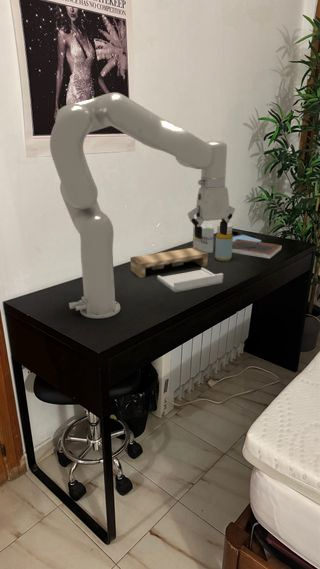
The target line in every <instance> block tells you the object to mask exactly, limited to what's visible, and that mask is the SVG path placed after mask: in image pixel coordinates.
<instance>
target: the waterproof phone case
mask: <svg viewBox="0 0 320 569" xmlns="http://www.w3.org/2000/svg"><path fill="white" fill-rule="evenodd" d="M237 239H242V240H248V241H255V242H262V240H261V239H258V238H255V237H251V236H248V235H245V234H240V235H236V236H235V235H234V236H233V241H235V240H237ZM233 241H232V242H233Z"/></svg>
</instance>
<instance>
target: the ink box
mask: <svg viewBox="0 0 320 569" xmlns="http://www.w3.org/2000/svg"><path fill="white" fill-rule="evenodd" d="M201 227H202V238H201V239H199V238H196V237H195V225H193V226H192V228H193V231H192V233H193V234H192V248H194V247H196V248H198V249H200V250H202V251H204V252H206V253H208V254H210V253H211V254H213V253H214V232H215V231H214V230H215V229H214V228H215V227H214V226H213V225H212V223H204V222H203V223H202V225H201Z"/></svg>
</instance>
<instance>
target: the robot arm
mask: <svg viewBox="0 0 320 569" xmlns="http://www.w3.org/2000/svg"><path fill="white" fill-rule="evenodd" d="M109 127H113V128H115V129H116V130H118V131H120V132H122V133H123V134H126V135H127V136H129V137H130V138H132V139H134V140H136V141H137V142H139V143H141V144H142V145H144V146H147V147H149V148H151V149H154V150H157V151H161V152H164V153H166V154H169V155H171V156H173V157H175V159H176V161H177V163H178V164H179V165H181V166H183V167H186V168H191V169H195V170H200V171H201V172H200V173H201V175H200V179H199V180H198V181H197V185H199V186H200V187H199V189H198V193H197V197H196V205H195V206H196V207H195V208H193V209H192V210H190V211H189V212H188V213H187V216H188V219H189V221H190V222H191V223H192V224H193V225H195V237H196V238H199V239H201V238H202V227H201V225H202V224H204V221H205V222H210V221H216V220H217V221H218V220H221V221H220V222H219V224H220V233H221V234H223V235H227V225H228V224H230V220H231V219H232V218H233V215H234V212H235V211H236V210H235V209H236V208H235V207H232V206H231V205H230V201H229V190H228V187H227V186H226V174H227V172H226V171H227V157H228V156H227V155H228V154H227V153H228V152H227V151H228V150H227V149H228V144H227V143H226V142H225V141H221V140H220V141H218V140H216V141H215V140H214V141H213V140H211V141H204V140H202V139H201V138H199V137H198V136H196V135H194V134H192V133H191V132H189V131H187V130H185V129H184V128H182V127H180V126H177V125H175V124H174V123H172V122H170V121H169V120H167V119H164V118H162V117H161V116H159V115H157V114H155V113H154V112H152V111H150V110H149V109H147V108H145V107H144V106H142V105H140V104H139V103H137V102H135V101H134V100H132V99H131V98H130V97H127V96H126V95H124V94H122V93H120V92H109V93H106V94H101V95H99V96H96V97H93V98H90V99H87V100H81V101H78V102H75V103H71V104H67V105H64V106H62V107H61V108H60V109H59V110H58V111H57V112H56V116H55V122H54V125H53V127H52V130H51V133H50V140H49V150H50V154H51V158H52V161H53V164H54V166H55V169H56V172H57V175H58V177H59V179H60V180H59V181H60V185H59V186H60V187H59V190H60V194H61V197H62V200H63V203H64V205H65V206H66V209H67V212H68V214H69V217H70V220H71V221H72V224H73V226H74V228H75V230H76V231H77V232H78V234H79V238H80V260H81V261H80V262H81V273H82V274H81V275H82V287H83V289H82V290H83V296H81V299H79V300H78V301H73V302H68V306H69V307H68V308H69V310H73V309H75V311H80V314H81V315H82V316H83V317H85V318H90V319H98V320H99V319H105V318H110V317H113V316H115V315H117V314H118V313H119V312H120V311H121V305H120V303H119V302H117V301H116V297H115V296H116V295H115V293H116V292H115V272H114V256H113V255H114V254H113V253H114V251H113V250H114V249H113V248H114V247H113V246H114V245H113V244H114V225H113V223H112V221H111V219H110V217H109V216H108V215H107V214H106V213H105V212H103V211H102V210H101V208H100V205H99V202H98V195H99V194H98V188H97V185H96V183H95V180H94V177H93V174H92V173H91V170H90V168H89V165H88V162H87V159H86V158H87V157H86V156H85V151H84V142H85V139H86V137H87V136H88V135H89V133H93V132H96V131H99V130H101V129H105V128H109Z"/></svg>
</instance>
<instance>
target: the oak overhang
mask: <svg viewBox="0 0 320 569" xmlns="http://www.w3.org/2000/svg"><path fill="white" fill-rule="evenodd" d="M208 254H209V253H206V252H204V251H202V250H200V249H198V248H196V247H194V248H193V247H190V248H183V249H177V250H169V251H161V252H157V253H151V254H150V253H149V254H143V255H138V256H131V257H130V271H131V272H132V273H133V274H135V275H136V276H137V277H138V278H140V279H142V278H146V270H147V269H150V270H152V271H155V270H160V269H164V268H165V266H171V267H179V266H183V265H184V263H188V262H194V263H195V264H197V265H199V266H201V268H205V267H208Z"/></svg>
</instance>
